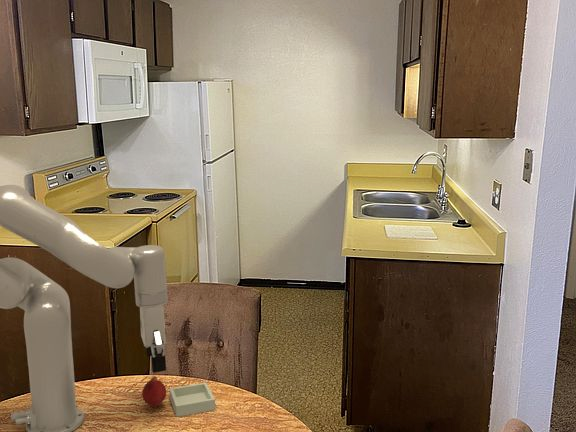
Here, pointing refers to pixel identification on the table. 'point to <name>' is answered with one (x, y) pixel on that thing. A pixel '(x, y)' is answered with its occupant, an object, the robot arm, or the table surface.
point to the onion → (154, 392)
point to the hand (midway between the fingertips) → (156, 363)
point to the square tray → (192, 399)
